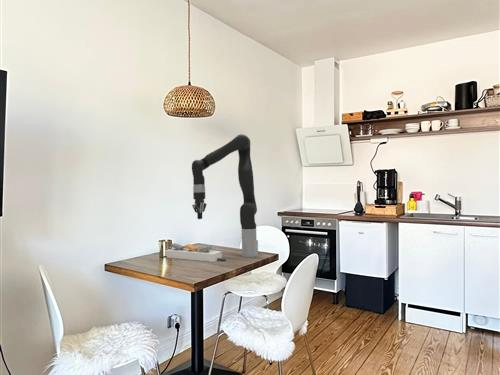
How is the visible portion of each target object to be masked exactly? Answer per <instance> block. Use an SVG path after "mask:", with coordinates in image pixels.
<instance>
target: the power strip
mask: <svg viewBox="0 0 500 375" xmlns="http://www.w3.org/2000/svg"><path fill="white" fill-rule="evenodd" d="M170 248H171V247H170ZM165 253H166V256H167V257H166V258H167V259H168V258H169V259H180V260H190V261H191V260H192V261H199V262H200V261H202V262H210V263H215V262H217V261H223V262H225V261H226V258H222V256H223V255H222V250H219V251H218V250H211V249H209V250H205V251H201V252H199V249H198V250H197V251H192V250H189V249H187V248H185V247H184V248H183V249H182V250H178V249H175V248H173V247H172V248H171V249H168V250H165Z"/></svg>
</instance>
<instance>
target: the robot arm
mask: <svg viewBox="0 0 500 375" xmlns="http://www.w3.org/2000/svg"><path fill="white" fill-rule="evenodd" d="M234 152H237V153H238V166H237V175H238V176H237V177H238V182H239V187H240V189H241V192H242V197H243V203H242V205H241V206H240V208H239V221H240V222H239V223H240V227H241V256H242V257H243V258H256V257H258V256H259V241H258V239H257V223H256V219H255V218H256V217H255V215H256V214H257V211H258V208H257V202H256V196H255V185H254V171H253V165H252V163H253V162H252V160H251V140H250V138H249V137H248V135H245V134H243V133H241V134H238V135H236V136H235V137H234V138H232V140H230V141H229V142H227V143H225V144H224V145H223V146H221V147H218V148H217V149H215V150H213V151H212V152H211V151H210V153H207V154H206V155H205V156H204V157H203V158H201V159H199V160H198V159H195V160H193V161H192V163H191V171H192V177H193V180H192V182H193V186H192V188H193V190H192V191H193V200H194V204H192V205H191V206H192V209H193V212H195V213H196V215H197V217H196V218H197V220H202V219H203V213H204V212H205V210H206V208H207V203H206V202H205V200H206V185H205V180H206V179H205V176H204V172H203V171H205V170H206V169H208V168H209V167H210V166H212V165H214V164H216V163H218V162H221V161H222V160H223V159H224V158H225V157H227V156H229V155H230V154H232V153H234Z"/></svg>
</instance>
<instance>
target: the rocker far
mask: <svg viewBox="0 0 500 375" xmlns="http://www.w3.org/2000/svg"><path fill="white" fill-rule="evenodd" d="M184 246H185V245H181V244H178V243H175V242H174V243H171V244H170V248H171V247H172V248H175V249H178V250H182V249H183V248H185V247H184Z"/></svg>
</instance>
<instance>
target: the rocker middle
mask: <svg viewBox="0 0 500 375" xmlns="http://www.w3.org/2000/svg"><path fill="white" fill-rule="evenodd" d="M184 246H185V247H184V248H185V249H189V250H192V251H197V250H199V247H198V246H195V245H192V244H190V243H189V244H186V245H184Z"/></svg>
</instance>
